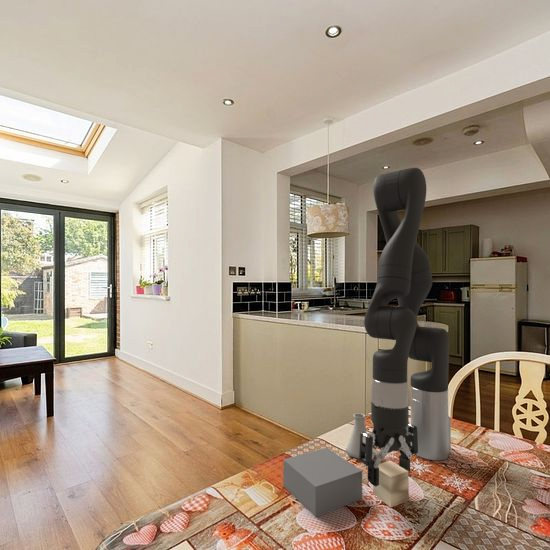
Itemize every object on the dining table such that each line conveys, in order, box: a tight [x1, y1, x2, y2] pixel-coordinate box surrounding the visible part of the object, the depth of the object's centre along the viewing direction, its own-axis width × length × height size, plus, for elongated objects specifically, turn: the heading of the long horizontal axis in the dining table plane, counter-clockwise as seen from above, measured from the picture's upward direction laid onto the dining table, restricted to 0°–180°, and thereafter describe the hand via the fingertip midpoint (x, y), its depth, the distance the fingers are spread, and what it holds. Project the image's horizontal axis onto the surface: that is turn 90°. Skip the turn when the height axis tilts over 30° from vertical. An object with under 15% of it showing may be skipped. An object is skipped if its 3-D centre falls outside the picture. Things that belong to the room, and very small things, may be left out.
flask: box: [345, 412, 367, 460], centre depth 92 cm, size 7×7×10 cm
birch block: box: [372, 460, 410, 508], centre depth 73 cm, size 5×5×6 cm
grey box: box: [282, 447, 363, 518], centre depth 75 cm, size 12×12×6 cm
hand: (389, 479), depth 73 cm, fingers open, 8 cm apart
